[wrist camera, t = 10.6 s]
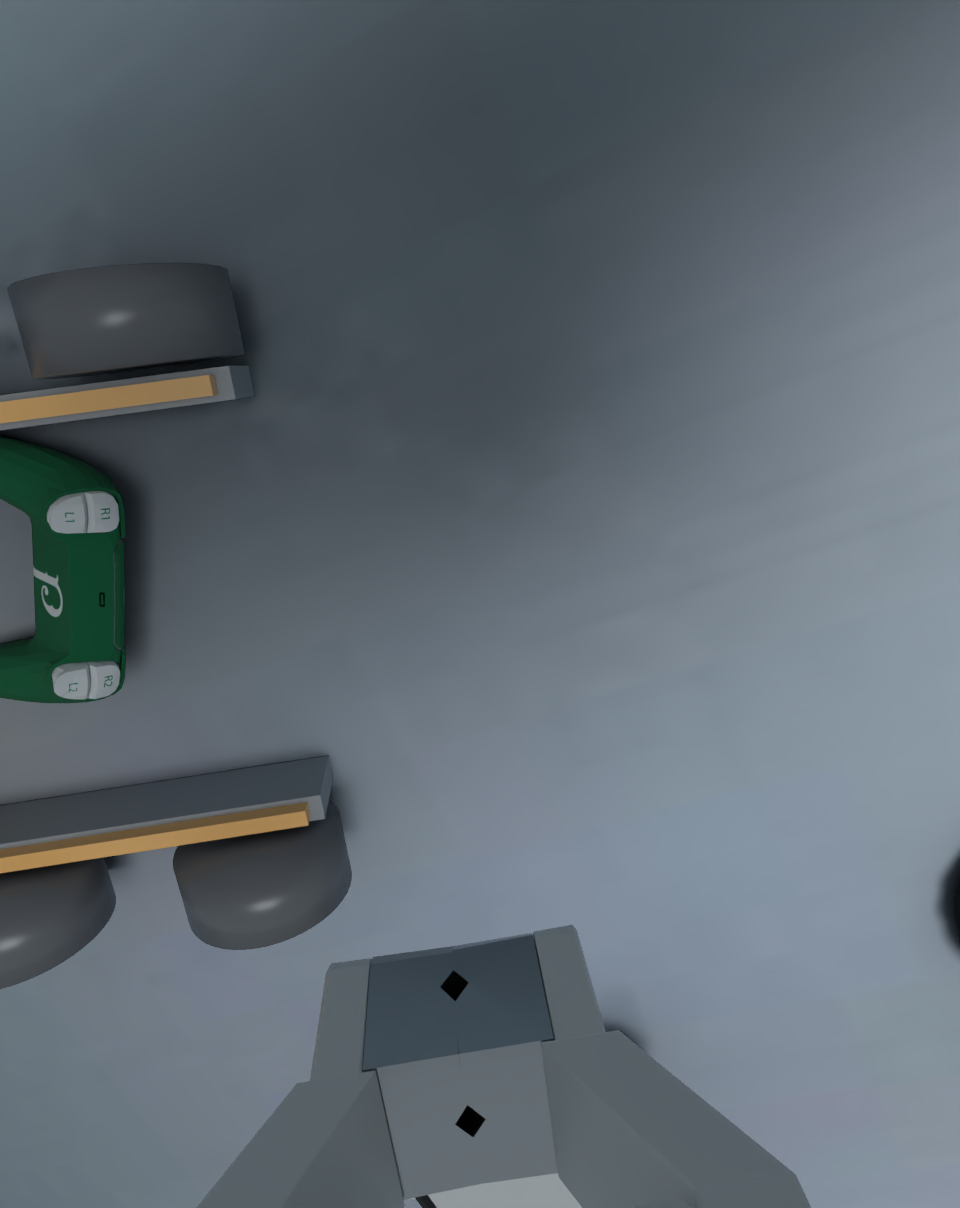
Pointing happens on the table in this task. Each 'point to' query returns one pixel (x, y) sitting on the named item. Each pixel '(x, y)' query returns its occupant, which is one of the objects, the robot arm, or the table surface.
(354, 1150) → the robot arm
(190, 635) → the table surface
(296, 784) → the chassis
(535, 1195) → the robot toy
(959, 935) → the toy motorcycle
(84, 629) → the gaming controller
